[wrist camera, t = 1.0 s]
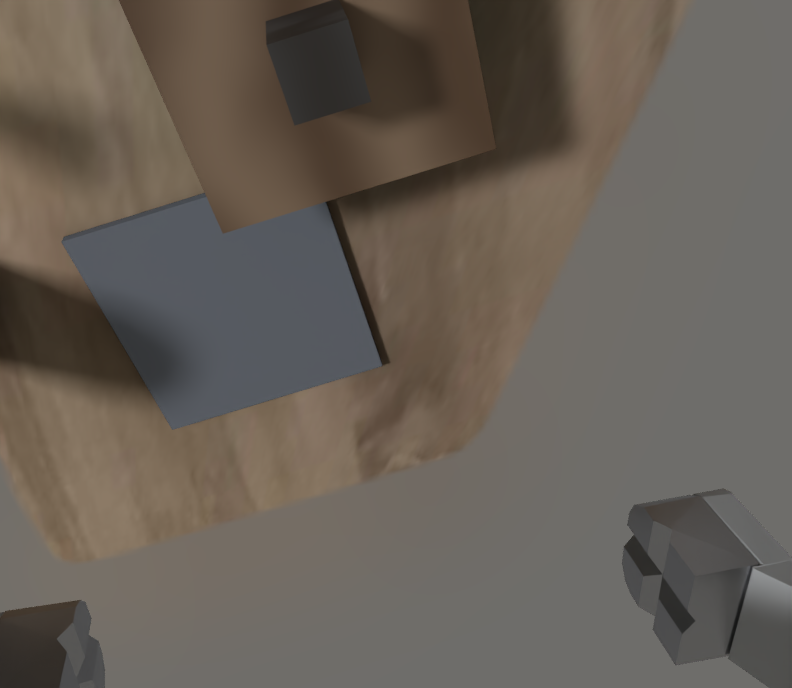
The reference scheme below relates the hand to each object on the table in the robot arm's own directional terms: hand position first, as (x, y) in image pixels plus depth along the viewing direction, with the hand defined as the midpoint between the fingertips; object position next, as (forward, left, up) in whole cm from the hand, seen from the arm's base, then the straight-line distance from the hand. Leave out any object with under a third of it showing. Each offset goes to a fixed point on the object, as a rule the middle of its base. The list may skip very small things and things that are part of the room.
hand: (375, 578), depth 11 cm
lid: (-1, -2, -26) cm, 26 cm away
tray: (+8, +12, -32) cm, 35 cm away
